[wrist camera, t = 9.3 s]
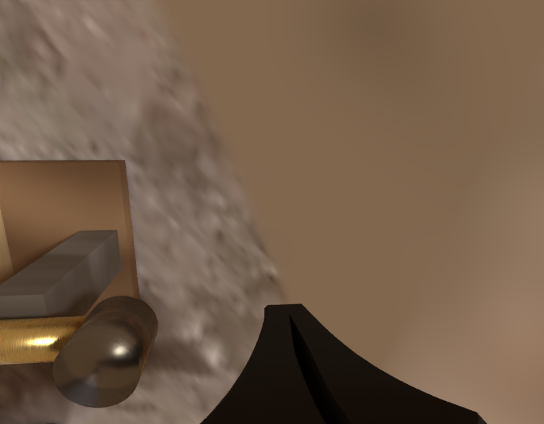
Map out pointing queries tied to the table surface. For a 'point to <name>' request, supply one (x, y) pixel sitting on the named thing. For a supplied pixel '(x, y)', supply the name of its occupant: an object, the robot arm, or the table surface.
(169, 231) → the table surface
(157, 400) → the table surface
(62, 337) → the lock bolt
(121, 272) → the dock
